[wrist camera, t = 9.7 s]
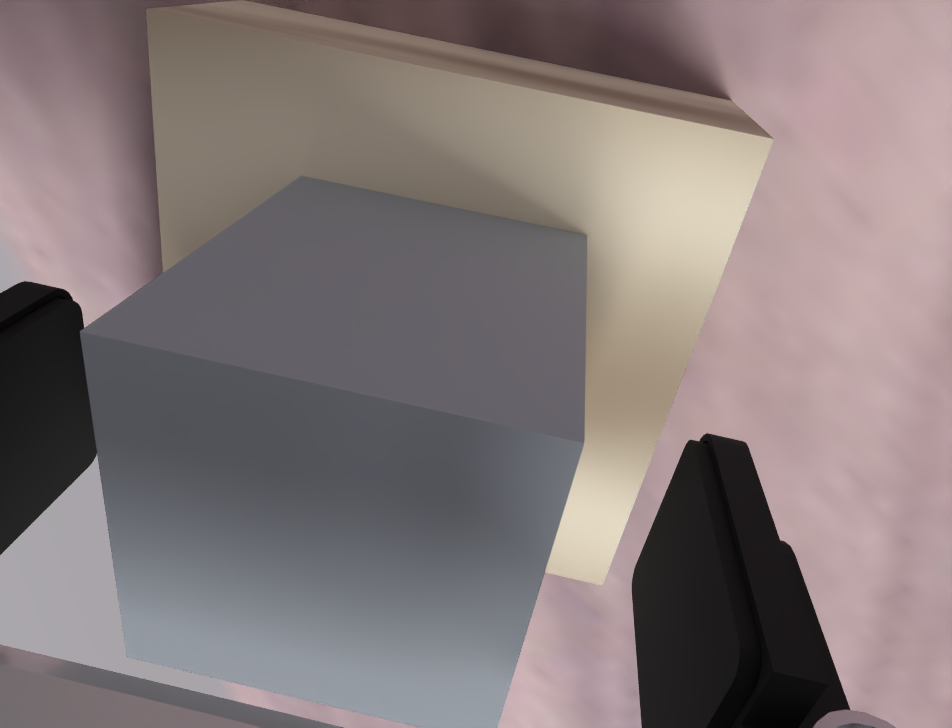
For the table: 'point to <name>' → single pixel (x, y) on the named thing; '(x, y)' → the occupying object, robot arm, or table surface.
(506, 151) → the maple block
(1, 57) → the table surface
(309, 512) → the grey block
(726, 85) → the table surface
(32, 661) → the robot arm
